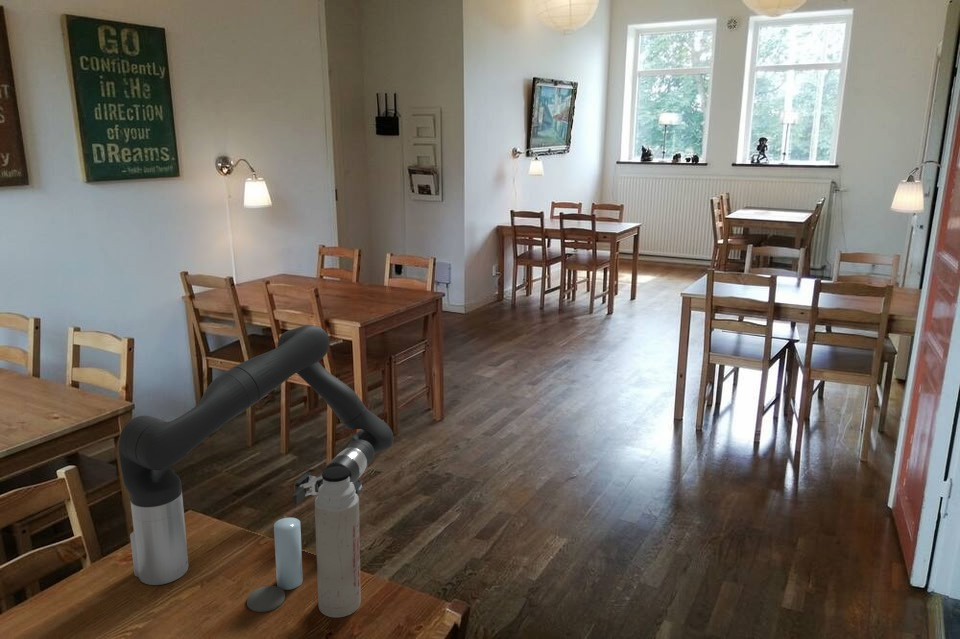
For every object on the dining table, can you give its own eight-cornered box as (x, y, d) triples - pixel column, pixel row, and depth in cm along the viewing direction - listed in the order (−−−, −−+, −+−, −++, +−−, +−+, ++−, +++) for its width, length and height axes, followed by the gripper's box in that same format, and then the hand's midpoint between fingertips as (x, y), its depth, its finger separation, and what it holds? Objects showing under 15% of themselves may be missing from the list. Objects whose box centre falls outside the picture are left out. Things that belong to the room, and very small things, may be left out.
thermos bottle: (366, 594, 133) (364, 464, 126) (351, 620, 126) (348, 484, 119) (328, 587, 135) (324, 459, 128) (311, 614, 127) (306, 478, 120)
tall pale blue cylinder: (272, 587, 134) (268, 528, 131) (285, 572, 139) (282, 515, 136) (294, 591, 133) (292, 533, 130) (307, 576, 138) (304, 519, 135)
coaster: (239, 608, 128) (239, 605, 128) (259, 585, 135) (259, 583, 135) (272, 615, 127) (272, 612, 126) (291, 592, 133) (291, 589, 133)
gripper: (317, 450, 160) (282, 483, 145) (373, 458, 157) (343, 492, 142) (318, 479, 162) (284, 514, 147) (374, 487, 159) (344, 524, 144)
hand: (313, 503), depth 145 cm, fingers open, 8 cm apart
